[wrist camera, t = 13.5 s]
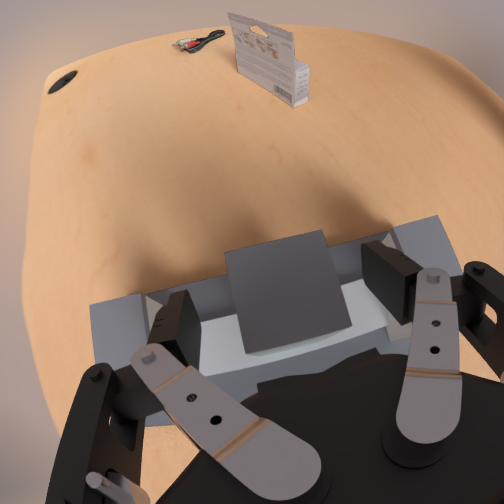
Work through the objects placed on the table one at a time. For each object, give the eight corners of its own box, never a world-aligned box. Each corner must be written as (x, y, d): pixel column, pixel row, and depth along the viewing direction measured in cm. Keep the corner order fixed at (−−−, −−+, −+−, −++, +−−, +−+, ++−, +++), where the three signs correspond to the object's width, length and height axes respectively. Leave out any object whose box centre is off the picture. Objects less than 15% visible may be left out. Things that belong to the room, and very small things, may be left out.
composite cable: (221, 32, 39) (219, 21, 37) (236, 38, 37) (234, 26, 35) (172, 52, 38) (169, 41, 35) (184, 59, 36) (181, 47, 34)
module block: (320, 341, 17) (352, 325, 10) (259, 357, 17) (245, 354, 10) (305, 283, 19) (321, 229, 11) (246, 298, 19) (224, 252, 11)
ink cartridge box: (251, 67, 32) (244, 6, 23) (309, 102, 29) (313, 29, 20) (236, 73, 32) (226, 11, 23) (293, 110, 28) (293, 34, 19)
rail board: (397, 233, 22) (433, 185, 15) (437, 345, 18) (493, 333, 11) (129, 303, 21) (76, 276, 15) (150, 424, 18) (98, 443, 11)
